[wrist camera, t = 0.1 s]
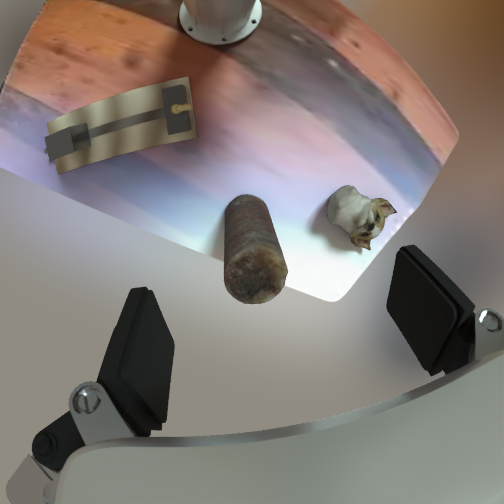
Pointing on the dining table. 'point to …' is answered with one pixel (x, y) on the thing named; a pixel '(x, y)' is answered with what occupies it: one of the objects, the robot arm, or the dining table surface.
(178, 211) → the dining table surface
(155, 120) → the rail board
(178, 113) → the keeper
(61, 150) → the dark grey block
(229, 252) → the candle
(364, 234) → the ceramic sculpture
